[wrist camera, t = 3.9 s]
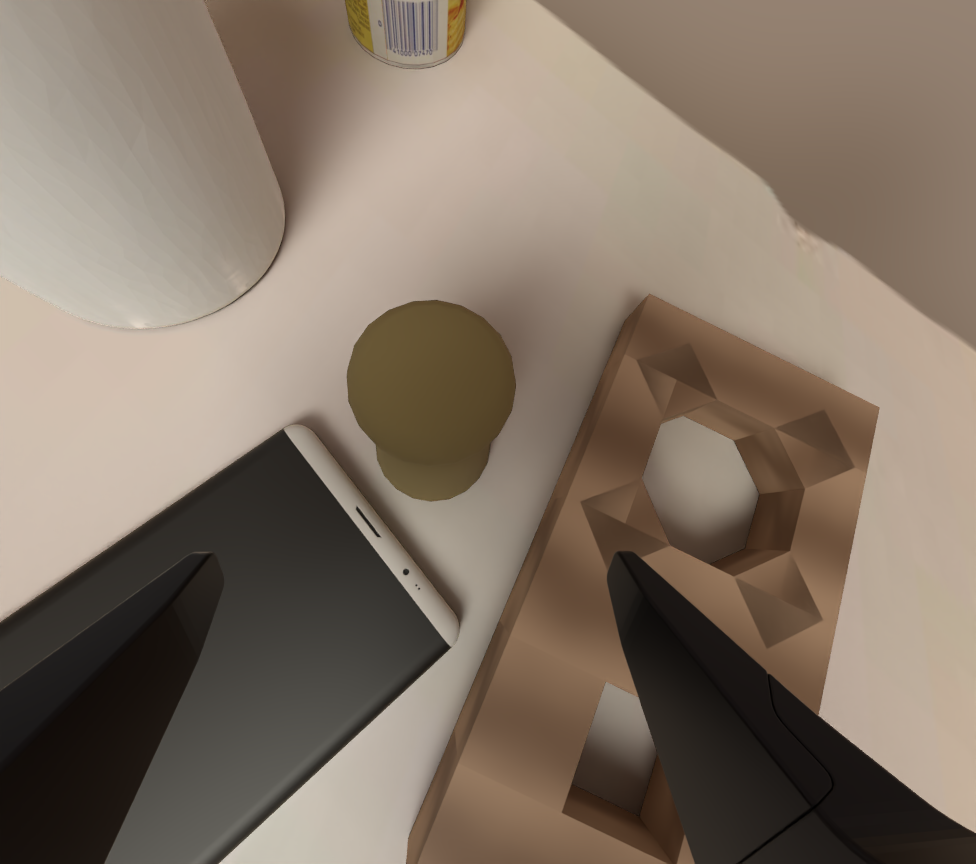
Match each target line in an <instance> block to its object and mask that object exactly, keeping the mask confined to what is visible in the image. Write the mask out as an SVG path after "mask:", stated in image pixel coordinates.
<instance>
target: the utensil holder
mask: <svg viewBox="0 0 976 864" xmlns="http://www.w3.org/2000/svg"><path fill="white" fill-rule="evenodd" d="M284 227H285V209H284V201H283V197H282V193H281V189H280V187H279V184H278V181H277V179H276V176H275V174H274V171H273V169H272V166H271V163H270V161H269V158H268V156H267V153H266V151H265V148H264V146H263V143H262V140H261V138H260V135H259V133H258V130H257V127H256V125H255V122H254V120H253V117H252V114H251V112H250V110H249V107H248V105H247V102H246V100H245V97H244V95H243V92H242V90H241V87H240V85H239V83H238V80H237V78H236V75H235V73H234V71H233V68H232V66H231V63H230V61H229V59H228V56H227V54H226V52H225V49H224V47H223V44H222V42H221V40H220V38H219V35H218V33H217V31H216V28H215V26H214V24H213V21H212V19H211V17H210V14H209V12H208V10H207V7H206V5H205V2H204V0H0V276H1V277H3V278H4V279H6V280H8V281H10V282H11V283H13V284H15V285H17V286H19V287H20V288H22V289H24V290H26V291H28V292H29V293H31V294H33V295H35V296H37V297H39V298H40V299H42V300H44V301H46V302H48V303H50V304H52V305H53V306H55V307H57V308H59V309H61V310H63V311H65V312H67V313H69V314H71V315H73V316H76V317H78V318H81V319H84V320H87V321H90V322H93V323H97V324H101V325H105V326H111V327H118V328H128V329H148V328H160V327H167V326H172V325H178V324H182V323H185V322H189V321H192V320H195V319H198V318H201V317H203V316H206V315H208V314H211V313H213V312H215V311H217V310H219V309H221V308H223V307H225V306H227V305H228V304H230V303H232V302H233V301H235V300H236V299H237V298H238V297H240V296H241V295H242V294H244V293H245V292H246V291H247V290H249V289H250V288H251V287H252V286H253V285H254V284H255V283H256V282H257V281H258V280H259V279H260V278H261V277H262V276H263V275H264V273H265V272H266V271H267V269H268V268H269V266H270V265H271V263H272V261H273V259H274V258H275V256H276V254H277V252H278V249H279V247H280V244H281V241H282V237H283V232H284Z"/></svg>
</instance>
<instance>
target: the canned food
mask: <svg viewBox="0 0 976 864" xmlns="http://www.w3.org/2000/svg"><path fill="white" fill-rule="evenodd" d="M345 3H346V9H347V15H348V21H349V26H350V29H351V31H352V34H353V36H354V38H355V39H356V41H357V42H358V43H359V44H360V46H361V47H362V48H363V49H364V50H365V51H367V52H368V53H369V54H370V55H372V56H373V57H374V58H376V59H379V60H381V61H383V62H385V63H387V64H390V65H394V66H398V67H402V68H413V69H421V68H427V67H433V66H436V65H438V64H441V63H443V62H446V61H447V60H448V59H450V58H451V57H452V56H453V55H455V54H456V52H457V51H458V49H459V48H460V46H461V45H462V41H463V37H464V31H465V14H466V0H345Z"/></svg>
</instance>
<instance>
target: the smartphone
mask: <svg viewBox="0 0 976 864" xmlns="http://www.w3.org/2000/svg"><path fill="white" fill-rule="evenodd" d="M193 552H213V553H215V554H216V556H217V558H218V561H219V564H220V567H221V569H222V572H223V575H224V587H223V590H222V593H221V596H220V599H219V602H218V605H217V608H216V611H215V614H214V617H213V620H212V623H211V626H210V629H209V631H208V634H207V637H206V640H205V643H204V646H203V649H202V652H201V654H200V657H199V660H198V662H197V664H196V666H195V669H194V671H193V673H192V675H191V678H190V680H189V682H188V684H187V686H186V688H185V691H184V693H183V695H182V697H181V699H180V701H179V704H178V706H177V708H176V710H175V712H174V714H173V717H172V719H171V721H170V723H169V725H168V727H167V730H166V732H165V734H164V736H163V738H162V740H161V743H160V745H159V747H158V749H157V751H156V753H155V756H154V758H153V760H152V762H151V764H150V766H149V769H148V771H147V773H146V775H145V777H144V779H143V782H142V784H141V786H140V788H139V790H138V792H137V795H136V797H135V799H134V801H133V803H132V805H131V807H130V810H129V812H128V814H127V816H126V818H125V820H124V823H123V825H122V827H121V829H120V831H119V833H118V836H117V838H116V840H115V842H114V844H113V846H112V849H111V851H110V853H109V855H108V857H107V859H106V862H105V864H219V863H220V862H221V861H222V860H223V859H224V858H225V857H226V856H227V855H228V854H229V853H230V852H232V851H233V850H234V849H235V848H236V847H237V846H238V845H239V844H240V843H241V842H242V841H243V840H244V839H246V838H247V837H248V836H249V835H250V834H251V833H252V832H253V831H254V830H255V829H256V828H257V827H259V826H260V825H261V824H262V823H263V822H264V821H265V820H266V819H267V818H268V817H269V816H270V815H271V814H273V813H274V812H275V811H276V810H277V809H278V808H279V807H280V806H281V805H282V804H283V803H284V802H285V801H287V800H288V799H289V798H290V797H291V796H292V795H293V794H294V793H295V792H296V791H297V790H298V789H299V788H301V787H302V786H303V785H304V784H305V783H306V782H307V781H308V780H309V779H310V778H311V777H312V776H314V775H315V774H316V773H317V772H318V771H319V770H320V769H321V768H322V767H323V766H324V765H325V764H326V763H328V762H329V761H330V760H331V759H332V758H333V757H334V756H335V755H336V754H337V753H338V752H339V751H340V750H342V749H343V748H344V747H345V746H346V745H347V744H348V743H349V742H350V741H351V740H352V739H353V738H354V737H356V736H357V735H358V734H359V733H360V732H361V731H362V730H363V729H364V728H365V727H366V726H367V725H369V724H370V723H371V722H372V721H373V720H374V719H375V718H376V717H377V716H378V715H379V714H380V713H381V712H383V711H384V710H385V709H386V708H387V707H388V706H389V705H390V704H391V703H392V702H393V701H394V700H395V699H397V698H398V697H399V696H400V695H401V694H402V693H403V692H404V691H405V690H406V689H407V688H408V687H409V686H411V685H412V684H413V683H414V682H415V681H416V680H417V679H418V678H419V677H420V676H421V675H422V674H424V673H425V672H426V671H427V670H428V669H429V668H430V667H431V666H432V665H433V664H434V663H435V662H436V661H438V660H439V659H440V658H441V657H442V656H443V655H444V654H445V653H446V652H447V651H448V650H449V649H450V648H452V646H453V645H454V644H455V643H456V641H457V639H458V636H459V622H458V619H457V616H456V615H455V613H454V612H453V611H452V609H451V608H450V607H449V606H448V604H447V603H446V602H445V600H444V599H443V598H442V596H441V595H440V594H439V593H438V591H437V590H436V589H435V587H434V586H433V585H432V584H431V582H430V581H429V580H428V578H427V577H426V576H425V575H424V573H423V572H422V571H421V569H420V568H419V567H418V566H417V564H416V563H415V562H414V560H413V559H412V558H411V557H410V555H409V554H408V553H407V551H406V550H405V549H404V548H403V546H402V545H401V544H400V542H399V541H398V540H397V539H396V537H395V536H394V535H393V533H392V532H391V531H390V530H389V528H388V527H387V526H386V524H385V523H384V522H383V521H382V519H381V518H380V517H379V515H378V514H377V513H376V512H375V510H374V509H373V508H372V506H371V505H370V504H369V502H368V501H367V500H366V499H365V497H364V496H363V495H362V493H361V492H360V491H359V490H358V488H357V487H356V486H355V484H354V483H353V482H352V481H351V479H350V478H349V477H348V475H347V474H346V473H345V472H344V470H343V469H342V468H341V466H340V465H339V464H338V463H337V461H336V460H335V459H334V457H333V456H332V455H331V454H330V452H329V451H328V450H327V448H326V447H325V446H324V445H323V443H322V442H321V441H320V439H319V438H318V437H317V436H316V434H315V433H314V432H313V431H312V430H310V429H309V428H307V427H306V426H303V425H298V424H295V425H289V426H287V427H285V428H283V429H282V430H280V431H279V432H277V433H276V434H275V435H273V436H272V437H270V438H269V439H267V440H266V441H264V442H263V443H261V444H260V445H258V446H257V447H256V448H254V449H253V450H251V451H250V452H248V453H247V454H245V455H244V456H242V457H241V458H239V459H238V460H237V461H235V462H234V463H232V464H231V465H229V466H228V467H226V468H225V469H223V470H222V471H220V472H219V473H218V474H216V475H215V476H213V477H212V478H210V479H209V480H207V481H206V482H204V483H203V484H201V485H200V486H199V487H197V488H196V489H194V490H193V491H191V492H190V493H188V494H187V495H185V496H184V497H182V498H181V499H180V500H178V501H177V502H175V503H174V504H172V505H171V506H169V507H168V508H166V509H165V510H163V511H162V512H161V513H159V514H158V515H156V516H155V517H153V518H152V519H150V520H149V521H147V522H146V523H145V524H143V525H142V526H140V527H139V528H137V529H136V530H134V531H133V532H131V533H130V534H128V535H127V536H126V537H124V538H123V539H121V540H120V541H118V542H117V543H115V544H114V545H112V546H111V547H109V548H108V549H107V550H105V551H104V552H102V553H101V554H99V555H98V556H96V557H95V558H93V559H92V560H90V561H89V562H88V563H86V564H85V565H83V566H82V567H80V568H79V569H77V570H76V571H74V572H73V573H71V574H70V575H69V576H67V577H66V578H64V579H63V580H61V581H60V582H58V583H57V584H55V585H54V586H52V587H51V588H50V589H48V590H47V591H45V592H44V593H42V594H41V595H39V596H38V597H36V598H35V599H33V600H32V601H31V602H29V603H28V604H26V605H25V606H23V607H22V608H20V609H19V610H17V611H16V612H14V613H13V614H12V615H10V616H9V617H7V618H6V619H4V620H3V621H1V622H0V690H2V689H3V688H4V687H6V686H7V685H8V684H10V683H11V682H13V681H14V680H15V679H17V678H18V677H20V676H21V675H22V674H24V673H25V672H26V671H28V670H29V669H31V668H32V667H33V666H35V665H36V664H38V663H39V662H40V661H42V660H43V659H44V658H46V657H47V656H49V655H50V654H51V653H53V652H54V651H56V650H57V649H58V648H60V647H61V646H62V645H64V644H65V643H67V642H68V641H69V640H71V639H72V638H74V637H75V636H76V635H78V634H79V633H80V632H82V631H83V630H85V629H86V628H87V627H89V626H90V625H92V624H93V623H94V622H96V621H97V620H99V619H100V618H101V617H103V616H104V615H105V614H107V613H108V612H110V611H111V610H112V609H114V608H115V607H117V606H118V605H119V604H121V603H122V602H123V601H125V600H126V599H128V598H129V597H130V596H132V595H133V594H135V593H136V592H137V591H139V590H140V589H141V588H143V587H144V586H146V585H147V584H148V583H150V582H151V581H153V580H154V579H155V578H157V577H158V576H159V575H161V574H162V573H164V572H165V571H166V570H168V569H169V568H171V567H172V566H173V565H175V564H176V563H177V562H179V561H180V560H182V559H183V558H184V557H186V556H187V555H189V554H191V553H193Z"/></svg>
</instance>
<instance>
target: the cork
mask: <svg viewBox="0 0 976 864" xmlns="http://www.w3.org/2000/svg"><path fill="white" fill-rule="evenodd" d="M347 387H348V401H349V404H350V406H351V408H352V411H353V413H354V415H355V418H356V420H357V422H358V424H359V426H360V428H361V429H362V430H363V431H364V432H365V433H366V434H367V435H368V437H369V438H370V439H371V440H372V441H373V442H374V443H375V444H376V451H377V460H378V462H379V465H380V467H381V469H382V471H383V474H384V476H385V477H386V478H387V479H388V480H389V481H390V482H391V484H392V485H393V486H394V487H395V488H396V489H397V490H399V491H401V492H403V493H405V494H406V495H408V496H410V497H412V498H415V499H421V500H426V501H438V500H446V499H450V498H453V497H455V496H457V495H459V494H461V493H463V492H465V491H466V490H468V489H469V488H470V487H471V486H472V485H473V484H474V483H475V482H476V481H477V480H478V479H479V477H480V476H481V474H482V472H483V470H484V468H485V466H486V464H487V461H488V455H489V450H490V442H491V441H492V440H494V439H495V438H496V437H497V436H498V434H499V433H500V431H501V429H502V428H503V426H504V424H505V422H506V420H507V418H508V417H509V415H510V413H511V411H512V407H513V401H514V395H515V389H516V383H515V376H514V370H513V364H512V358H511V355H510V353H509V351H508V349H507V347H506V345H505V343H504V341H503V339H502V337H501V335H500V334H499V333H498V332H497V331H496V330H495V329H494V328H493V327H492V326H491V325H490V324H489V323H488V322H487V321H486V320H485V319H484V318H483V317H481V316H479V315H477V314H476V313H474V312H472V311H470V310H468V309H466V308H465V307H463V306H460V305H456V304H452V303H447V302H443V301H438V300H431V301H414V302H410V303H407V304H404V305H402V306H399V307H396V308H393V309H390V310H388V311H387V312H385V313H384V314H383V315H381V316H380V317H379V318H377V319H376V320H375V321H373V322H372V323H371V324H369V325H368V327H367V328H366V329H365V331H364V332H363V334H362V335H361V337H360V338H359V340H358V341H357V342H356V344H355V345H354V348H353V352H352V356H351V359H350V363H349V366H348V370H347Z"/></svg>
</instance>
